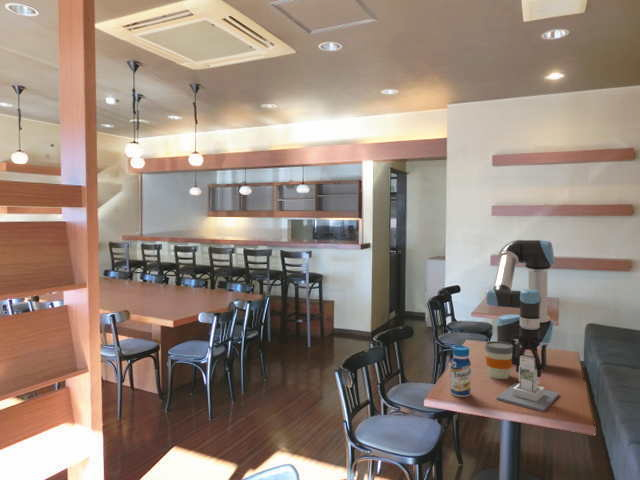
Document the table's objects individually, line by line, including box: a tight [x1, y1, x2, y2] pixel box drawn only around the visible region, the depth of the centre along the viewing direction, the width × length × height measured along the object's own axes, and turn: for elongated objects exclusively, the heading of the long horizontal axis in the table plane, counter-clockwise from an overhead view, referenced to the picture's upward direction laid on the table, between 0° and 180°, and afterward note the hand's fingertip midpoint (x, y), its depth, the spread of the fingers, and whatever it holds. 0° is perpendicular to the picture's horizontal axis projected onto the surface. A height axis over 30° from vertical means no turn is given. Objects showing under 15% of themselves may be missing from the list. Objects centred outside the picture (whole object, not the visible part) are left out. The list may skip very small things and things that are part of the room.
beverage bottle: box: [449, 345, 472, 398], centre depth 192 cm, size 8×8×20 cm
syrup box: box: [519, 353, 538, 393], centre depth 187 cm, size 6×6×14 cm
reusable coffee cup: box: [484, 340, 513, 380], centre depth 213 cm, size 13×12×15 cm
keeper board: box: [496, 382, 560, 413], centre depth 188 cm, size 22×18×4 cm
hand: (528, 382), depth 187 cm, fingers closed on syrup box, 6 cm apart
